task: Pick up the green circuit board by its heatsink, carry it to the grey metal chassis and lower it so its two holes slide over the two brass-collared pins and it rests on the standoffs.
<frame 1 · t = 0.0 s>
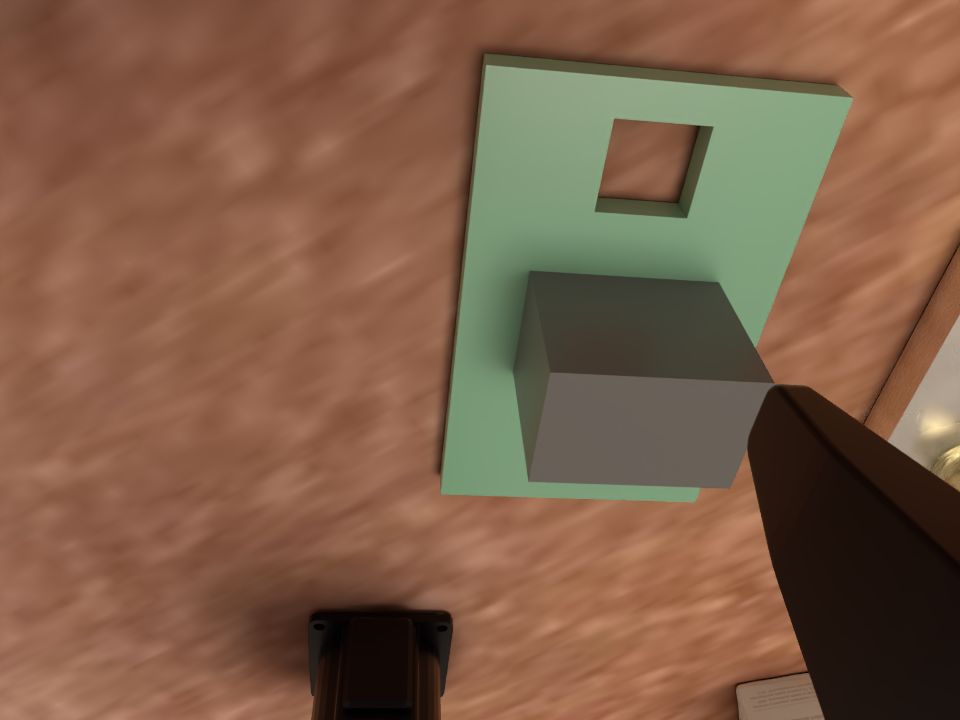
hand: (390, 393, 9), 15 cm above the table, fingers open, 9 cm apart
supplement box: (799, 702, 43), on the table
board: (606, 311, 26), on the table
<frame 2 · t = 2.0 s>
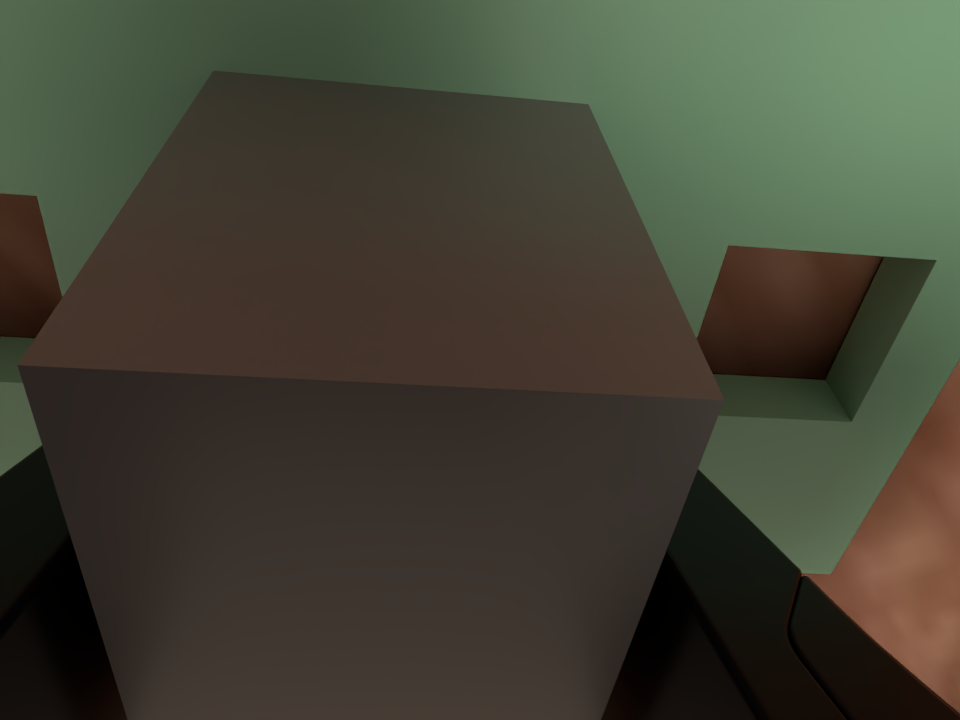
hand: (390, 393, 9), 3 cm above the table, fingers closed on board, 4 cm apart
board: (396, 277, 11), on the table, touching gripper
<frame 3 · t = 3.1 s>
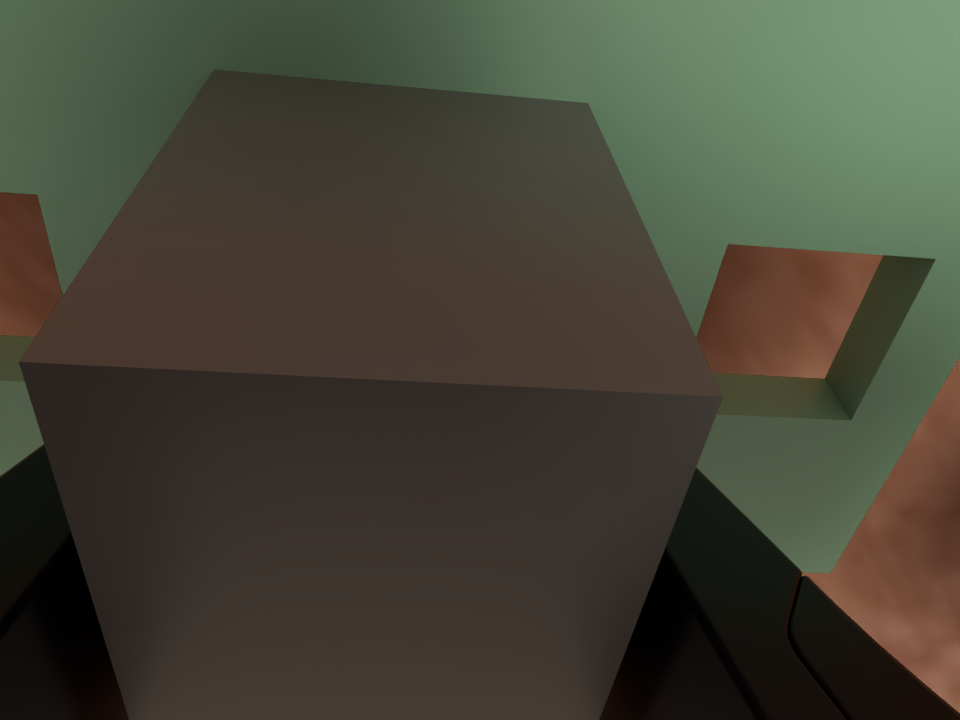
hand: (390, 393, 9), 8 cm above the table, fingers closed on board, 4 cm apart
board: (396, 276, 11), point 5 cm above the table, touching gripper
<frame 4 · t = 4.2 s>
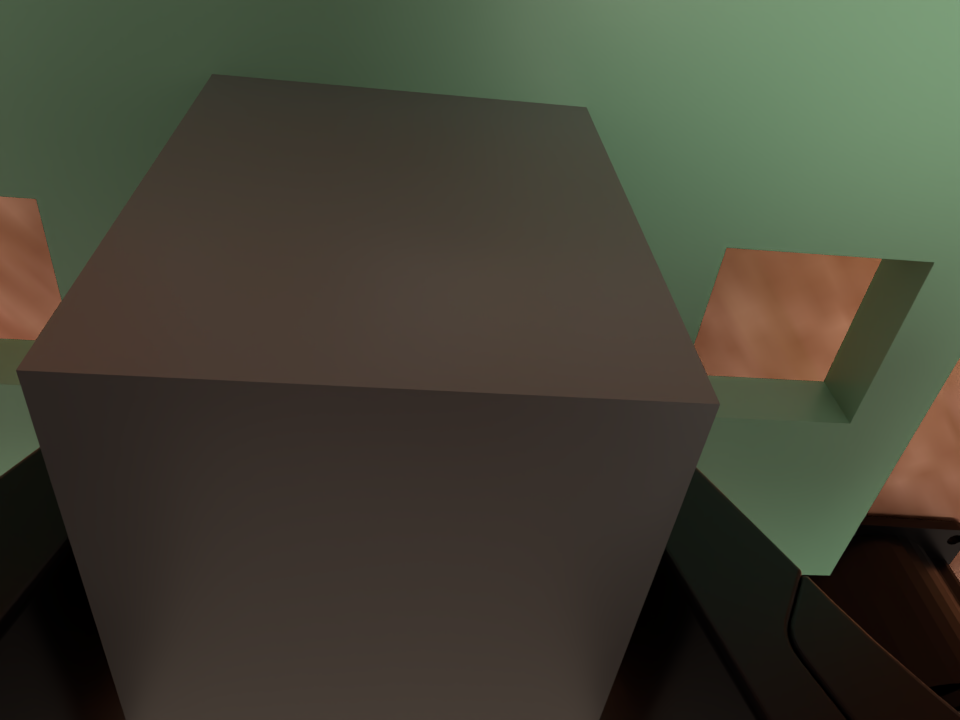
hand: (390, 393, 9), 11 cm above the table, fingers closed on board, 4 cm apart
board: (395, 279, 11), point 9 cm above the table, touching gripper
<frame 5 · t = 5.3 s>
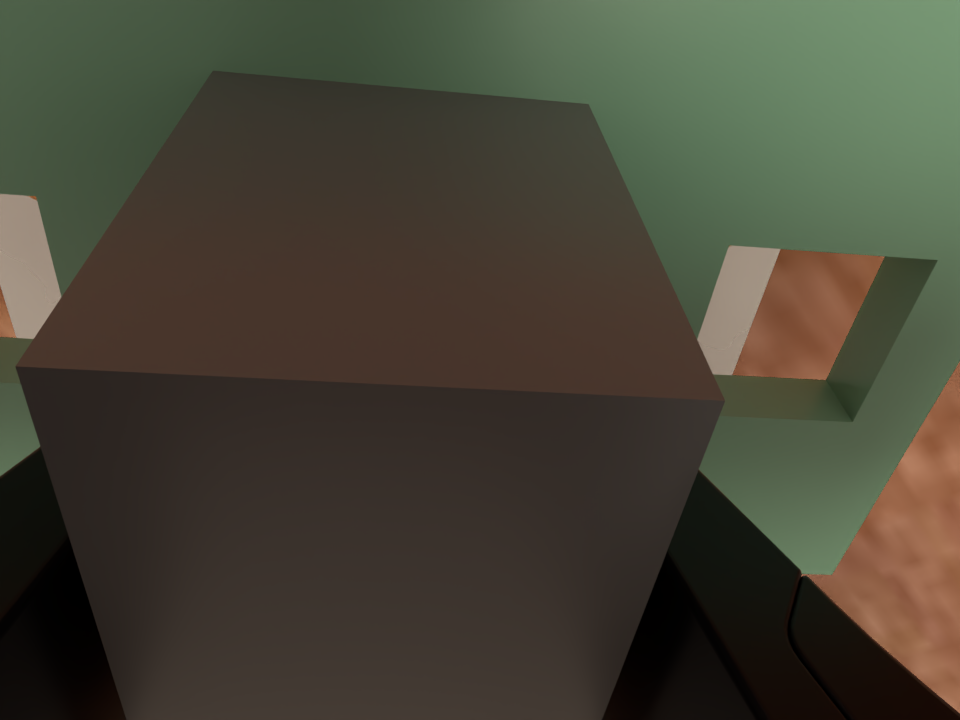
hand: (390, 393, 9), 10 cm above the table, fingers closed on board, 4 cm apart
chassis: (405, 82, 17), on the table
board: (396, 278, 11), point 8 cm above the table, touching gripper
when the fingers open (6 cm above the table, at t = 6.4 s): board stays where it is, resting on chassis.
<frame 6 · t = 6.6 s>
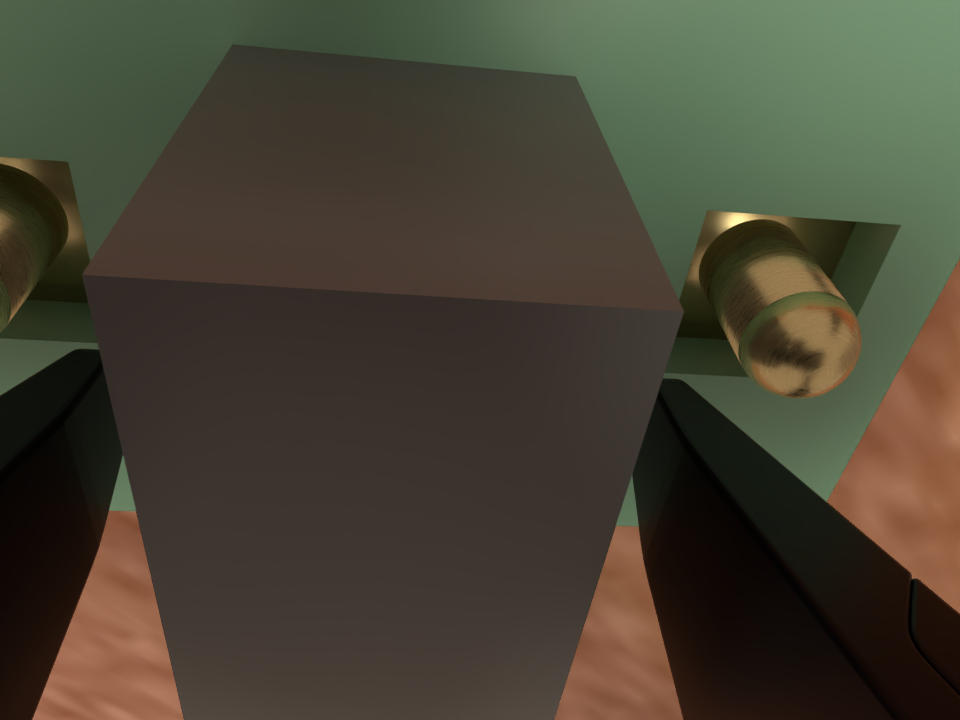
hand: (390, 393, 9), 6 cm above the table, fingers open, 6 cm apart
chassis: (402, 159, 14), on the table
board: (398, 244, 12), point 3 cm above the table, touching chassis
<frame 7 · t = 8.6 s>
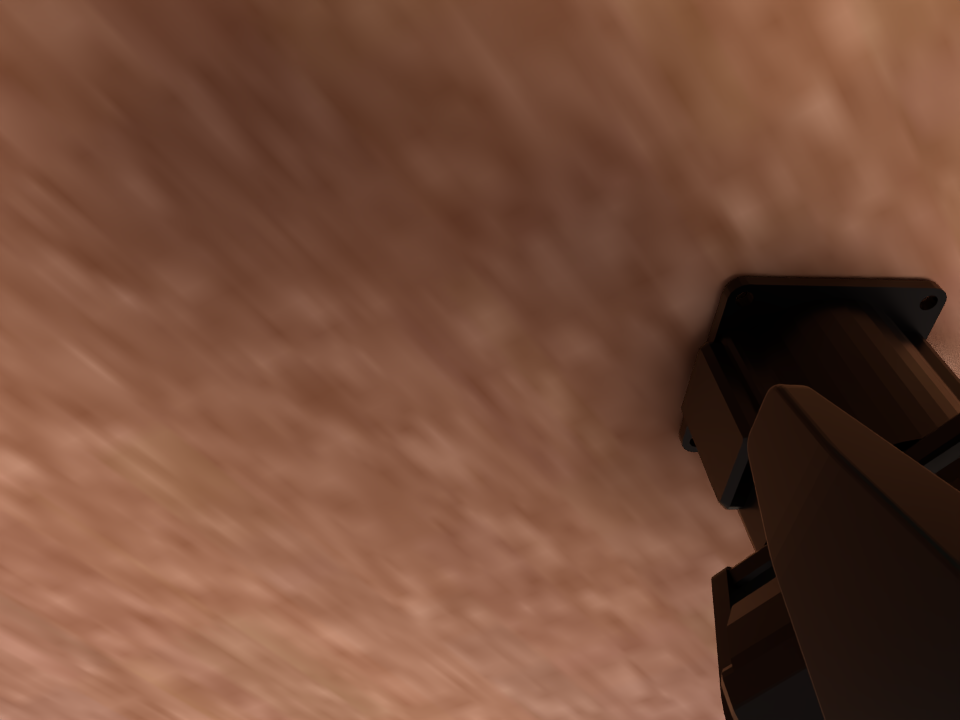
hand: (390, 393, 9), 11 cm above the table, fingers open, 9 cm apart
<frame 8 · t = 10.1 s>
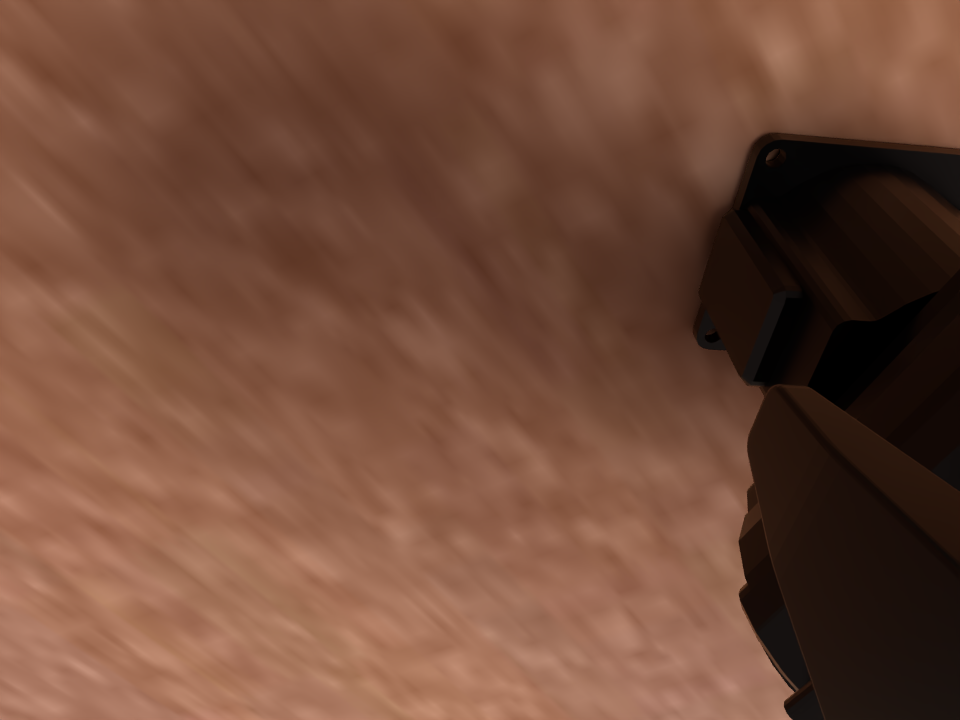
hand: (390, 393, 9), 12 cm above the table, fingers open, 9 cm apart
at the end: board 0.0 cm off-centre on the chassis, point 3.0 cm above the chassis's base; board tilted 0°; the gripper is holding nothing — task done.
